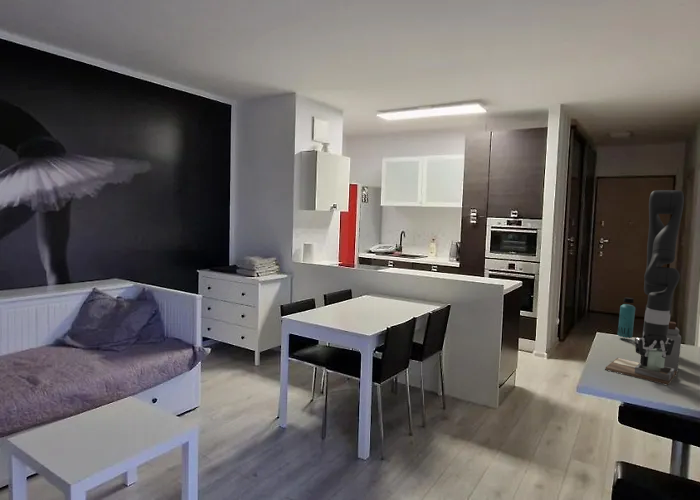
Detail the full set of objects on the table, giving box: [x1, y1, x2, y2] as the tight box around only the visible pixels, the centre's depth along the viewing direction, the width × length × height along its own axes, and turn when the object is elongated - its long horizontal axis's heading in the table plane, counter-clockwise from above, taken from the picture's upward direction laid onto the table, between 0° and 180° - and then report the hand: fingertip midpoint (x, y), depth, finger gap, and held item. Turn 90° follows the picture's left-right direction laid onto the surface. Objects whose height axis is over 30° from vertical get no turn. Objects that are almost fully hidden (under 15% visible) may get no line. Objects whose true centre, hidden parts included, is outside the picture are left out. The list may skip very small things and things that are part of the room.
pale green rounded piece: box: [642, 349, 665, 373], centre depth 173 cm, size 6×8×8 cm
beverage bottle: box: [617, 297, 636, 339], centre depth 223 cm, size 6×7×20 cm
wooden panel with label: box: [605, 357, 678, 386], centre depth 178 cm, size 17×20×3 cm
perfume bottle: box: [664, 320, 682, 373], centre depth 184 cm, size 7×7×18 cm
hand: (651, 365), depth 174 cm, fingers closed on pale green rounded piece, 5 cm apart
